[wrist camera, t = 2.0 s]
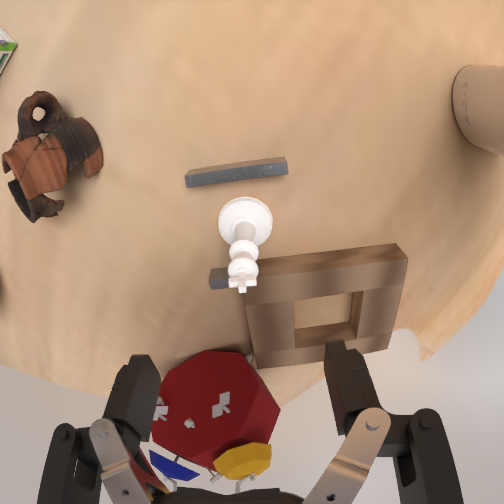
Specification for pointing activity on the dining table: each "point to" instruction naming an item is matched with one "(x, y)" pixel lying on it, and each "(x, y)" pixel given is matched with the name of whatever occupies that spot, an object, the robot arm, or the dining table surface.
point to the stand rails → (233, 173)
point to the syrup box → (5, 48)
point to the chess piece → (244, 237)
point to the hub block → (317, 285)
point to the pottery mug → (48, 155)
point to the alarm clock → (214, 418)
